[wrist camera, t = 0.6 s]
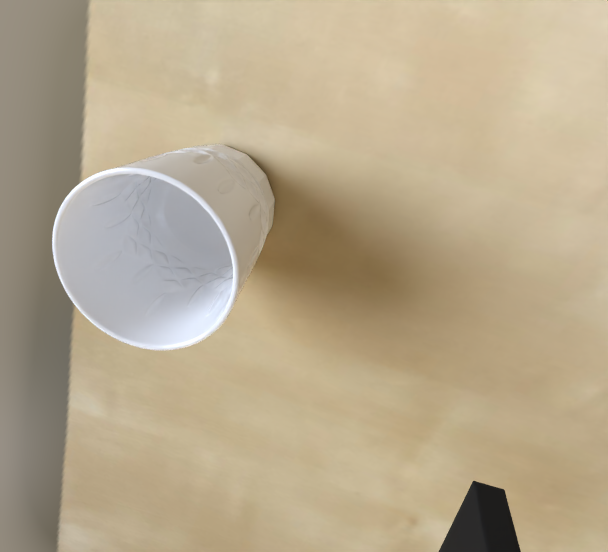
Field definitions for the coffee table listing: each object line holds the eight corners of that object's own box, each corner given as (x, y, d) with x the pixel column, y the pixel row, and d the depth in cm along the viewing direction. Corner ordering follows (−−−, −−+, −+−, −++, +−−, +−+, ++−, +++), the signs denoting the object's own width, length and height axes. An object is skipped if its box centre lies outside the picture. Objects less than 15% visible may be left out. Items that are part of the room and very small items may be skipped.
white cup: (132, 156, 30) (17, 200, 20) (257, 113, 28) (191, 140, 18) (185, 279, 32) (104, 366, 23) (304, 247, 30) (266, 329, 21)
